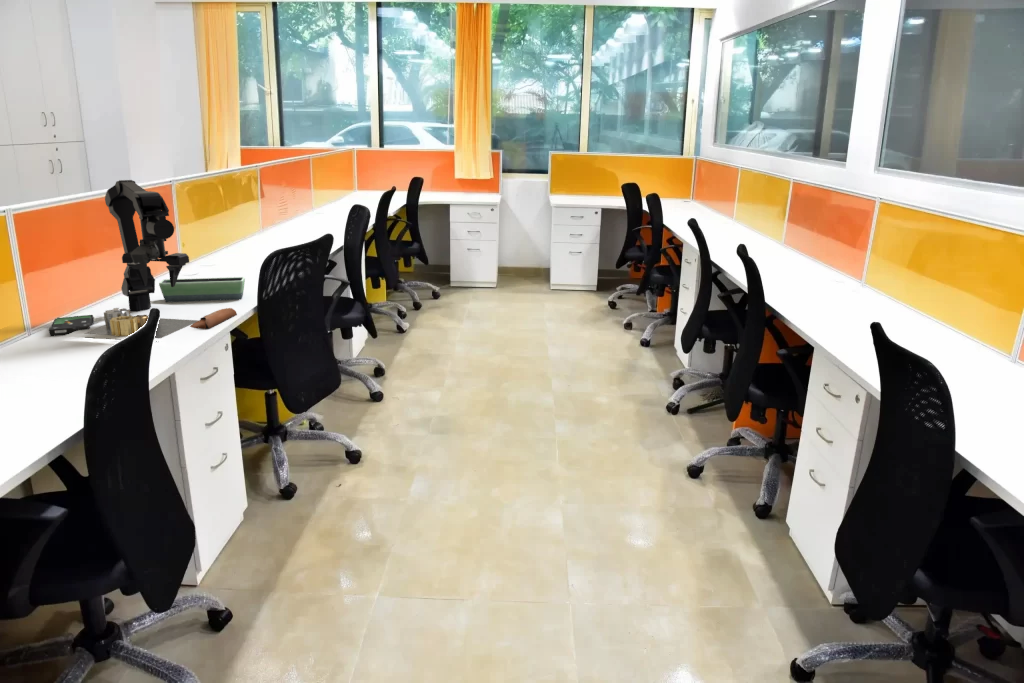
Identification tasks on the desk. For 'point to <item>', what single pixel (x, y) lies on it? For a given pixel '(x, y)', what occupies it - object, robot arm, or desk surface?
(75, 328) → the disk drive
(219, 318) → the sunglasses case
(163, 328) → the carrier
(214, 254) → the desk surface
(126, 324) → the brass gear
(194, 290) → the planter
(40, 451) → the desk surface
